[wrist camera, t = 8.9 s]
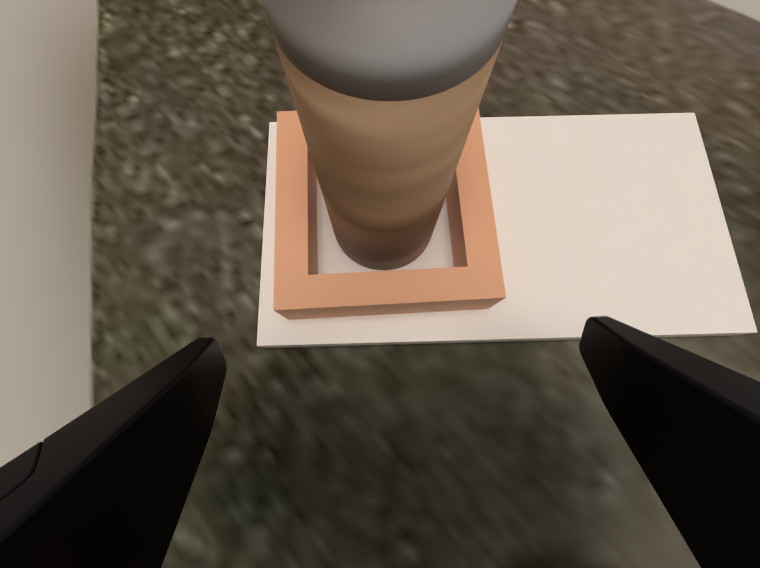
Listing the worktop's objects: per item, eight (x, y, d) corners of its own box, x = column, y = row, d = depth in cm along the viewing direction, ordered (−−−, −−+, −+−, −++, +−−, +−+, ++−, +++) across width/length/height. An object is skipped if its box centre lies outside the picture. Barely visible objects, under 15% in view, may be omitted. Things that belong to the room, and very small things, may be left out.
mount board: (677, 127, 21) (694, 112, 20) (733, 335, 18) (757, 332, 17) (275, 136, 21) (269, 122, 20) (264, 347, 18) (256, 345, 17)
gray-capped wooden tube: (452, 213, 18) (578, -76, 7) (394, 290, 17) (425, 107, 6) (372, 161, 19) (363, -179, 7) (313, 232, 18) (193, -34, 6)
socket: (488, 309, 17) (506, 297, 15) (288, 319, 17) (273, 310, 15) (465, 136, 19) (477, 102, 17) (289, 145, 19) (277, 111, 17)
